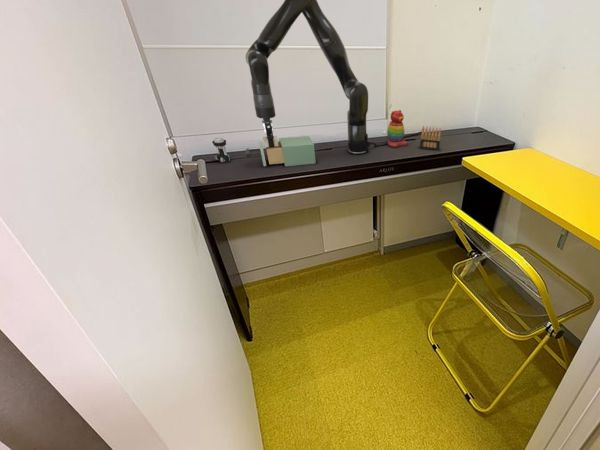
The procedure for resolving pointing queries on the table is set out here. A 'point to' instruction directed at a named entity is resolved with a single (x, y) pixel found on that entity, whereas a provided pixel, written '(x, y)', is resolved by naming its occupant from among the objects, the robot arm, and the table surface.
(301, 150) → the cabinet
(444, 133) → the table surface
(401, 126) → the stacking bear
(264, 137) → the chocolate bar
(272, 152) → the drawer
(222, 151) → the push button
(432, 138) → the ammunition clip
